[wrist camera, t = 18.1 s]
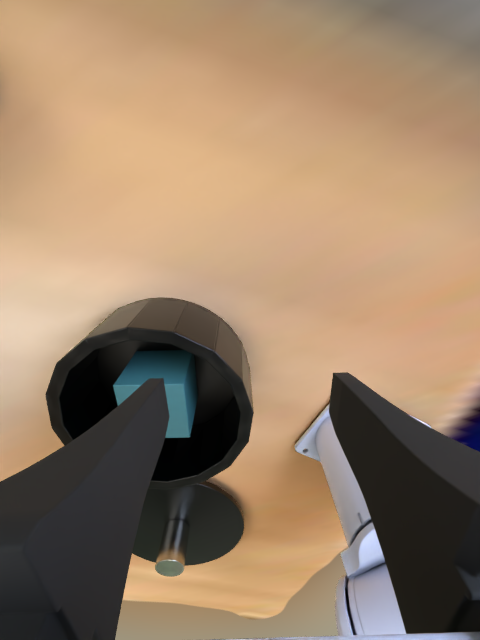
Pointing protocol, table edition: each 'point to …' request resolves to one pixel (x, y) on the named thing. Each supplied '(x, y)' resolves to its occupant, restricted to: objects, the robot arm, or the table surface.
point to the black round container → (157, 335)
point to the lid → (187, 526)
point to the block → (177, 381)
